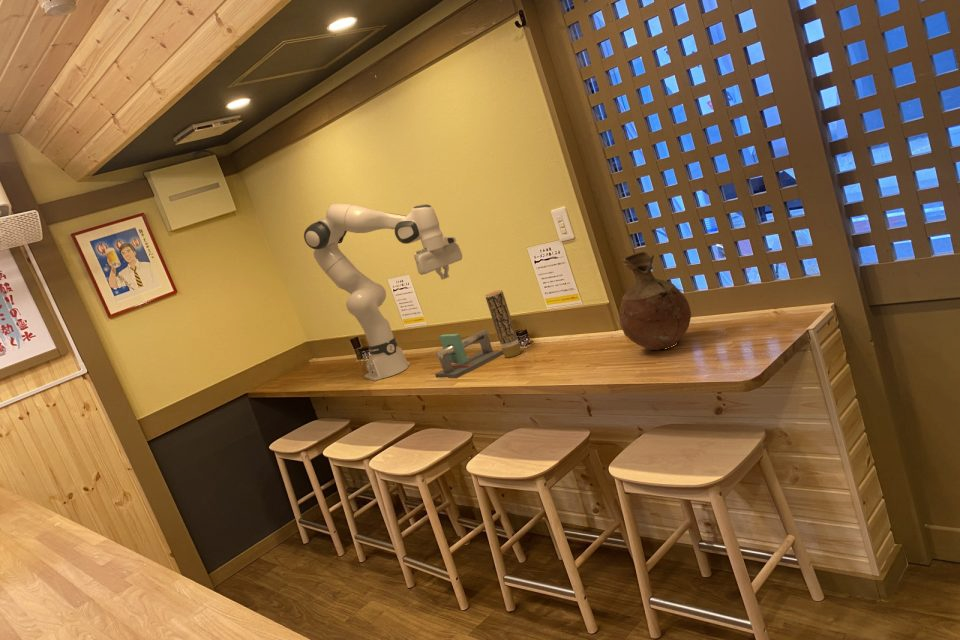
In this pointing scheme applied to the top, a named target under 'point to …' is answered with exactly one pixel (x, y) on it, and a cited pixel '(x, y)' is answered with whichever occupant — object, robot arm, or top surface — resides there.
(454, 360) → the collar
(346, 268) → the robot arm
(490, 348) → the pipe rig
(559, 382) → the top surface
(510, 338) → the bark covered log
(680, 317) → the jug
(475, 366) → the base board
